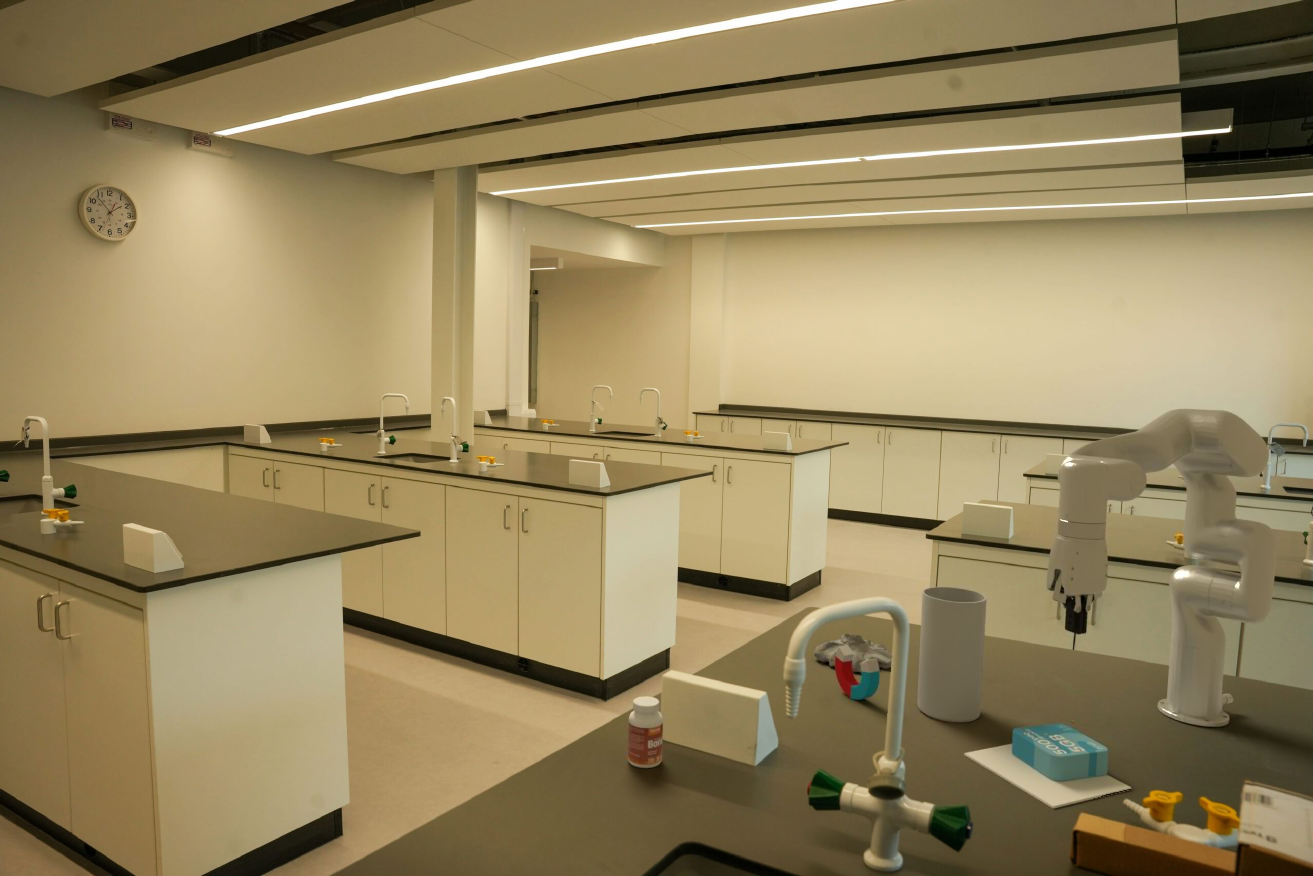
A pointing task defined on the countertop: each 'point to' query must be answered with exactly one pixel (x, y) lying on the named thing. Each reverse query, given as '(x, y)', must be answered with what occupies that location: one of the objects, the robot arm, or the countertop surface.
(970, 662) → the cylinder vase
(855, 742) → the countertop surface
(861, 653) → the fossil
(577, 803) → the countertop surface
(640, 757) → the pill bottle
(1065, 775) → the data package
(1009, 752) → the mat
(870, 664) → the magnet
